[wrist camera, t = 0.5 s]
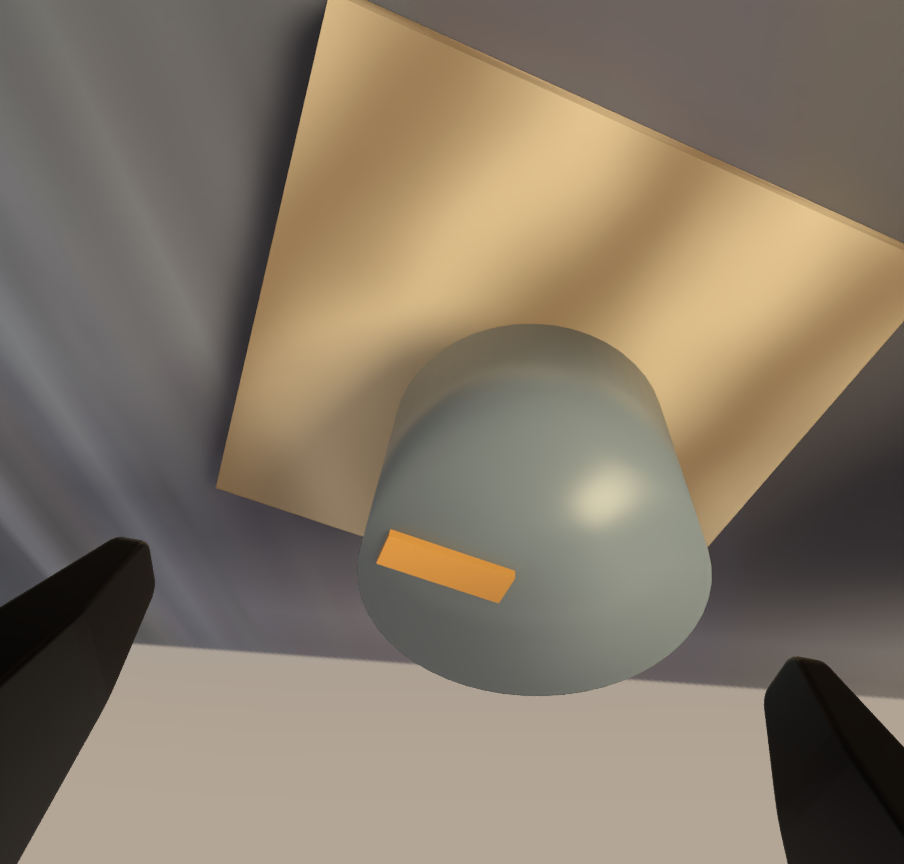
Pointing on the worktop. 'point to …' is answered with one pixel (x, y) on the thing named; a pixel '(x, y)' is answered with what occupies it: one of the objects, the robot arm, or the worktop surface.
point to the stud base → (532, 271)
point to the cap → (533, 518)
